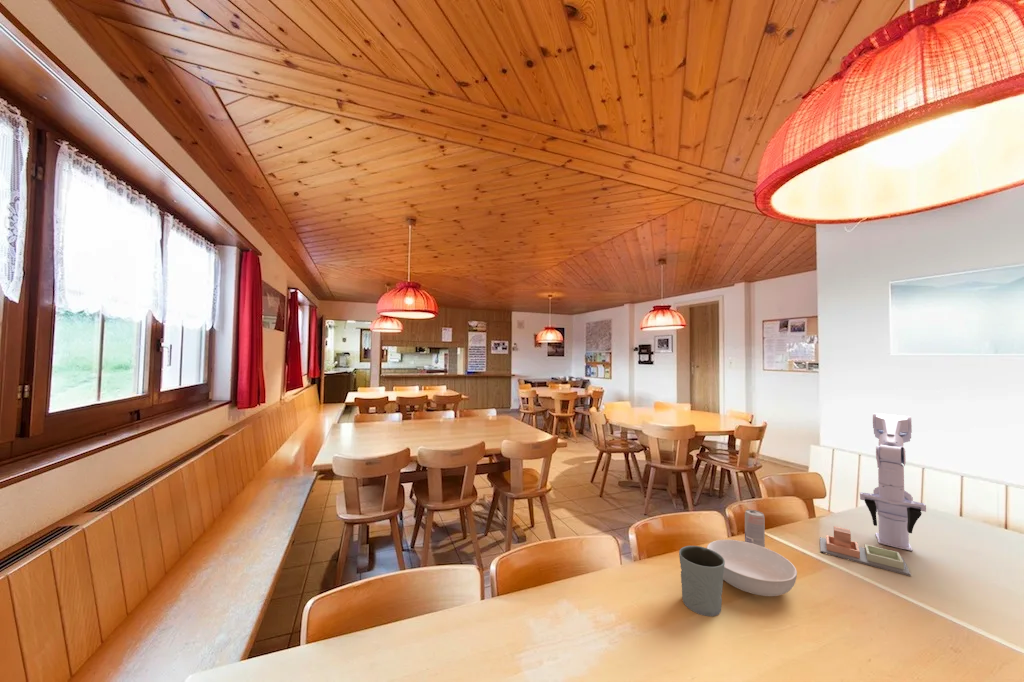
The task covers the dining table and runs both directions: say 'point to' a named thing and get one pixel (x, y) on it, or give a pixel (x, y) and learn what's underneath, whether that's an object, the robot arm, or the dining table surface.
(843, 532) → the terracotta block
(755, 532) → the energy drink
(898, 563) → the sorting board
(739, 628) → the dining table surface
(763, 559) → the serving bowl
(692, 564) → the grey cup
